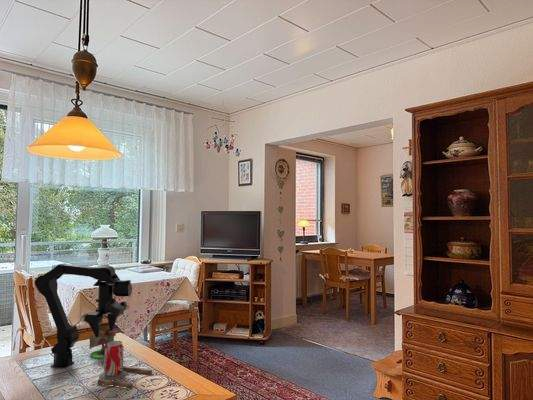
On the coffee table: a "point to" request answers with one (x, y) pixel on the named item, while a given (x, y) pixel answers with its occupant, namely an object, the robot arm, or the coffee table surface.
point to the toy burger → (101, 339)
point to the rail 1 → (115, 383)
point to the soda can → (113, 358)
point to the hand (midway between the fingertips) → (104, 333)
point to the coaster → (122, 374)
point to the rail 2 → (137, 370)
